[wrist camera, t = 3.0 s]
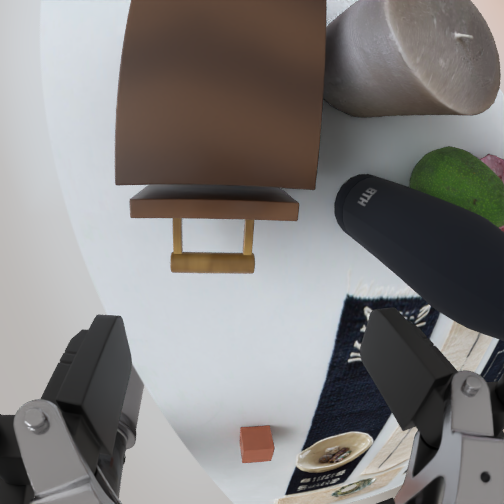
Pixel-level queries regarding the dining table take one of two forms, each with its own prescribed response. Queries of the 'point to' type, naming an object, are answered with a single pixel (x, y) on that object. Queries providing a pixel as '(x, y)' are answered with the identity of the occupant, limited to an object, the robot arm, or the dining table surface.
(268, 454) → the block
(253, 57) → the cabinet
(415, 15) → the pillar candle
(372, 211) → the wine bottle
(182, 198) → the drawer
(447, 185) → the fruit
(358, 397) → the dining table surface
